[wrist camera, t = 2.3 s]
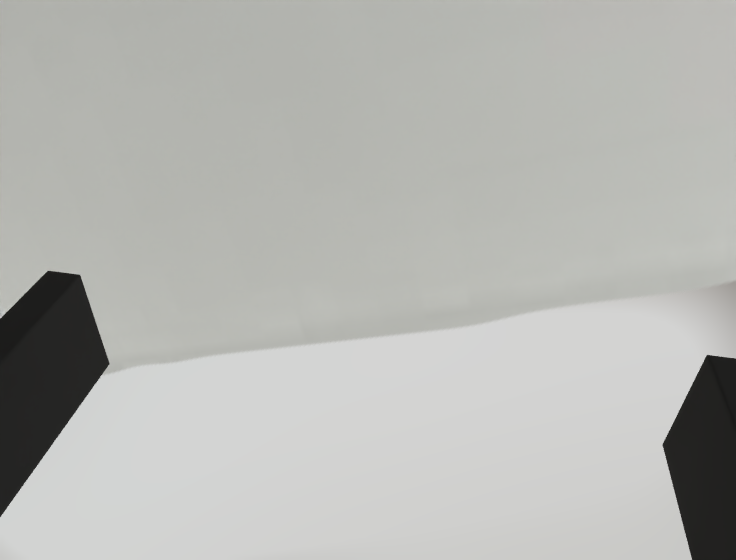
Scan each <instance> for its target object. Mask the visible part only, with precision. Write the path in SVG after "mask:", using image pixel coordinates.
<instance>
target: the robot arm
mask: <svg viewBox="0 0 736 560" xmlns="http://www.w3.org/2000/svg"><path fill="white" fill-rule="evenodd" d="M108 365H109V361H108V358H107V355H106V352H105V349H104V346H103V343H102V340H101V337H100V334H99V331H98V328H97V325H96V322H95V319H94V316H93V313H92V310H91V307H90V304H89V301H88V298H87V295H86V292H85V288H84V285H83V282H82V279H81V276H80V275H77V274H69V273H61V272H53V271H47V272H46V273H45V274H44V275H43V276H42V277H41V278H40V279H39V280H38V281H37V282H36V283H35V284H34V285H33V286H32V287H31V288H30V289H29V291H28V292H27V293H26V294H25V295H24V296H23V297H22V298H21V299H20V300H19V301H18V302H17V303H16V304H15V305H14V306H13V307H12V308H11V309H10V310H9V311H8V312H7V313H6V314H5V315H4V316H3V317H2V318H1V319H0V517H1V515H2V514H3V512H4V511H5V510H6V508H7V507H8V506H9V504H10V503H11V501H12V500H13V498H14V497H15V496H16V494H17V493H18V491H19V490H20V489H21V487H22V486H23V484H24V483H25V482H26V480H27V479H28V477H29V476H30V475H31V473H32V472H33V470H34V469H35V468H36V466H37V465H38V463H39V462H40V460H41V459H42V458H43V456H44V455H45V454H46V452H47V451H48V449H49V448H50V447H51V445H52V444H53V442H54V440H55V439H56V438H57V437H58V435H59V434H60V433H61V431H62V430H63V428H64V427H65V425H66V424H67V423H68V421H69V420H70V418H71V417H72V416H73V414H74V413H75V412H76V410H77V409H78V407H79V405H80V404H81V403H82V402H83V400H84V399H85V397H86V396H87V395H88V393H89V392H90V390H91V389H92V388H93V386H94V384H95V383H96V382H97V381H98V379H99V378H100V376H101V375H102V374H103V372H104V371H105V369H106V368H107V367H108ZM663 448H664V452H665V456H666V460H667V464H668V467H669V471H670V475H671V479H672V483H673V487H674V490H675V494H676V498H677V502H678V506H679V510H680V514H681V518H682V522H683V526H684V530H685V533H686V537H687V541H688V545H689V549H690V553H691V557H692V560H736V359H734V358H726V357H718V356H710V355H707V356H706V358H705V360H704V362H703V364H702V366H701V368H700V370H699V372H698V374H697V376H696V378H695V380H694V382H693V384H692V386H691V388H690V391H689V392H688V394H687V396H686V399H685V400H684V403H683V405H682V407H681V409H680V411H679V413H678V415H677V417H676V419H675V421H674V423H673V425H672V427H671V429H670V431H669V433H668V435H667V437H666V439H665V441H664V443H663Z"/></svg>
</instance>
